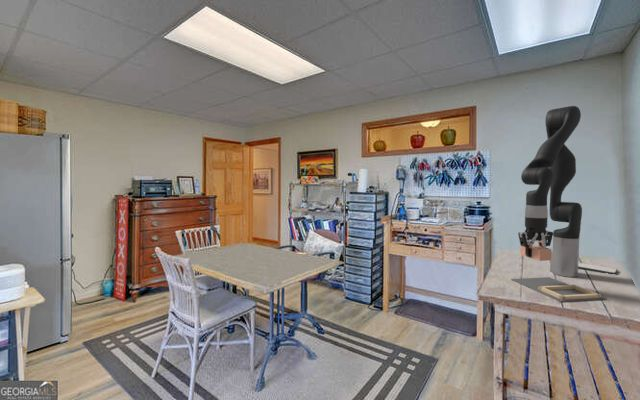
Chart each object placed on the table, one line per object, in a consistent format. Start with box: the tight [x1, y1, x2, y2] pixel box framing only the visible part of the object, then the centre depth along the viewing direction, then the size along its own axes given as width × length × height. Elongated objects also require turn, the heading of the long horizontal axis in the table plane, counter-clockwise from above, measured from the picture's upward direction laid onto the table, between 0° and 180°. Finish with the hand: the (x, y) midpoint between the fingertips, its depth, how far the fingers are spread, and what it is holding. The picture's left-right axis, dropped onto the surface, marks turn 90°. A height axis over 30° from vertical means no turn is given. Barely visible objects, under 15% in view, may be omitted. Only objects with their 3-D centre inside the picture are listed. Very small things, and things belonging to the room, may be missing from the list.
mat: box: [510, 276, 608, 303], centre depth 117 cm, size 24×18×2 cm
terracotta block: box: [519, 243, 552, 262], centre depth 122 cm, size 10×5×4 cm, turn 5°
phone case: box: [578, 262, 619, 275], centre depth 142 cm, size 9×2×16 cm
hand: (535, 256), depth 122 cm, fingers closed on terracotta block, 5 cm apart
